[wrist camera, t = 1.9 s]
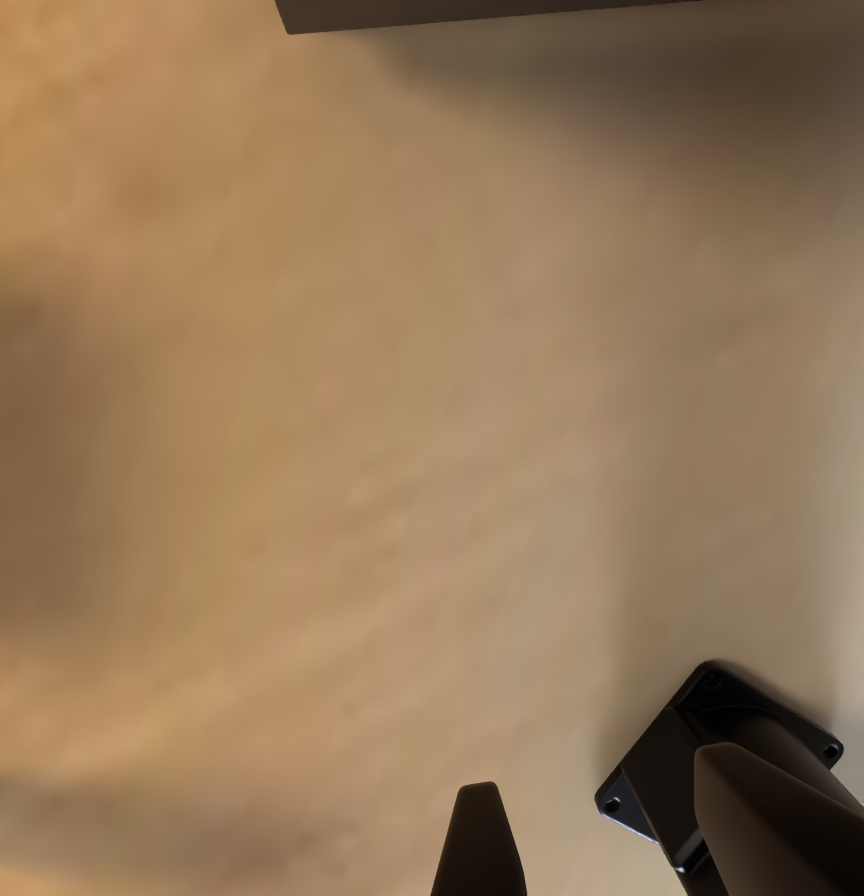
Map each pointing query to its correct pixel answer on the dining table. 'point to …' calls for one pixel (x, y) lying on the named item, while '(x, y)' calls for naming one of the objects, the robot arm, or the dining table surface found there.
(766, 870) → the robot arm
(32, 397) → the dining table surface
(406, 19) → the netbook screen
